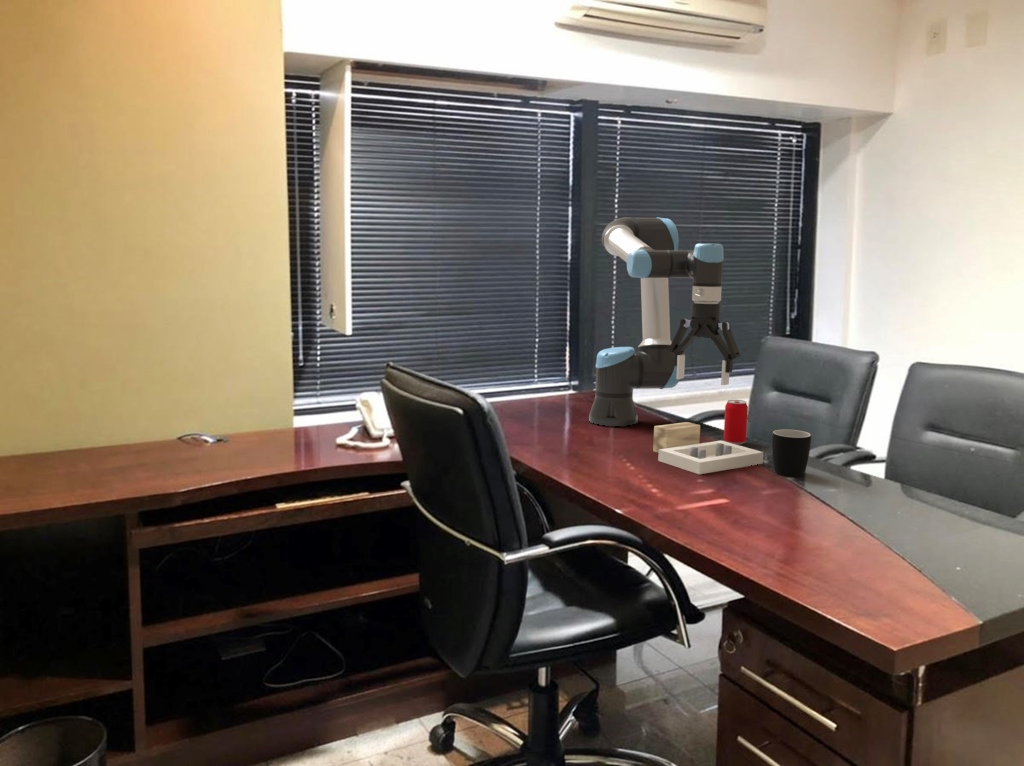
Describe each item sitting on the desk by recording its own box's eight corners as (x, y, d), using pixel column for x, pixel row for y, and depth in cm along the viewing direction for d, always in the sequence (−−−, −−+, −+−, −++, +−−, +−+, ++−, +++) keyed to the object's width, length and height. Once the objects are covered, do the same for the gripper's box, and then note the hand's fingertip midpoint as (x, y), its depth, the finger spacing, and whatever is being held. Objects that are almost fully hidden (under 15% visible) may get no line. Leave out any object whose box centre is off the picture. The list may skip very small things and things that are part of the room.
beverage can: (744, 440, 244) (746, 399, 242) (747, 445, 238) (750, 403, 236) (721, 440, 245) (724, 398, 243) (724, 445, 239) (727, 402, 237)
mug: (815, 477, 206) (818, 436, 204) (780, 478, 204) (783, 437, 203) (791, 465, 217) (794, 426, 216) (758, 466, 216) (760, 427, 214)
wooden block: (653, 451, 230) (654, 426, 229) (686, 446, 237) (687, 421, 236) (665, 455, 226) (666, 429, 225) (699, 450, 232) (700, 425, 231)
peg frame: (658, 460, 220) (658, 445, 219) (720, 451, 231) (721, 436, 230) (699, 474, 207) (699, 458, 206) (762, 463, 218) (763, 448, 218)
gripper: (658, 300, 231) (655, 377, 235) (742, 305, 214) (737, 388, 218) (673, 299, 237) (669, 374, 240) (756, 304, 220) (751, 385, 223)
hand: (702, 381), depth 229 cm, fingers open, 13 cm apart
